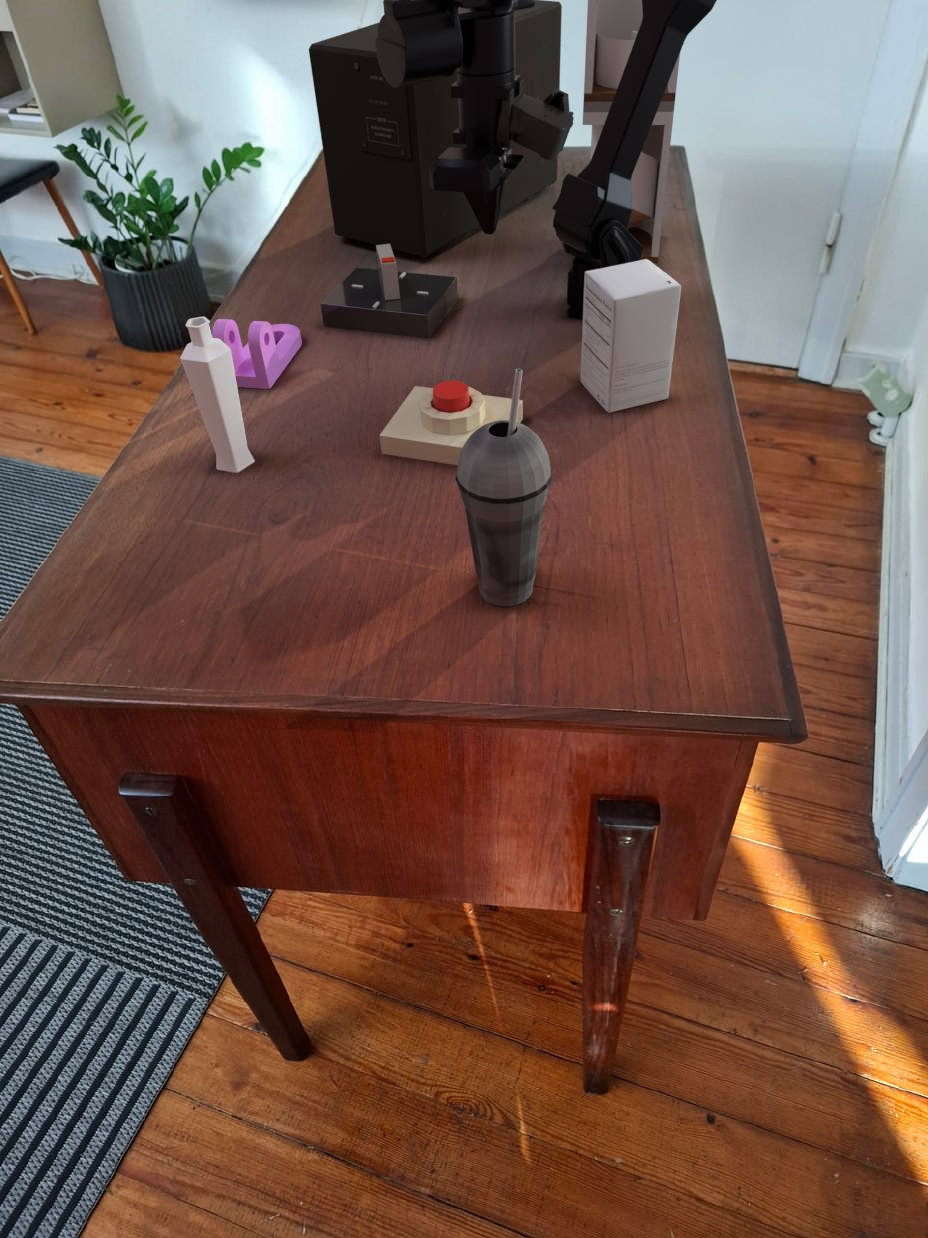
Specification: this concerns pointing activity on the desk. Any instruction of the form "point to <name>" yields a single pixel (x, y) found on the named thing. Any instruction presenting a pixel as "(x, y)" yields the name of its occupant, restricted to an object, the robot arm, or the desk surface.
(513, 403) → the beverage cup
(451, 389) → the button
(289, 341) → the bracket
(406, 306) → the panel
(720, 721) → the desk surface
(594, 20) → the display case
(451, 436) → the block
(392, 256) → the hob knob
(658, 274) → the white packaging box
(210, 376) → the perfume bottle
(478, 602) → the desk surface
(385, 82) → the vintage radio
